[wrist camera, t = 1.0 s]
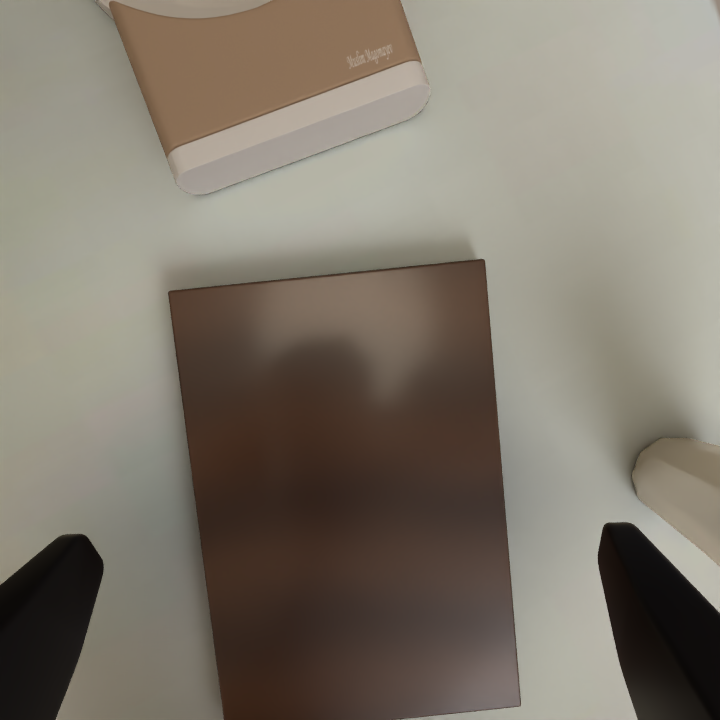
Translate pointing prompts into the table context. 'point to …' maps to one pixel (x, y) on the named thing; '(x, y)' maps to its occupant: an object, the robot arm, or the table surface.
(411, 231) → the table surface
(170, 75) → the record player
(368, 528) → the walnut board
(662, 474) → the milkshake
